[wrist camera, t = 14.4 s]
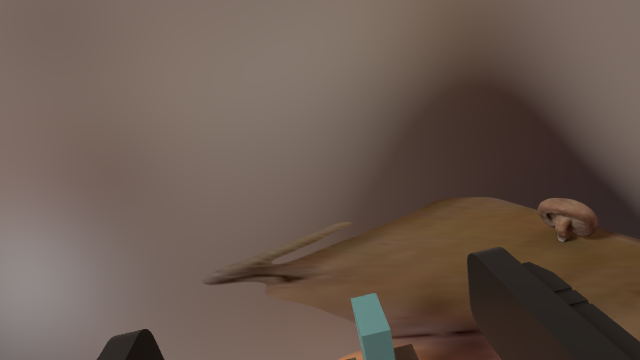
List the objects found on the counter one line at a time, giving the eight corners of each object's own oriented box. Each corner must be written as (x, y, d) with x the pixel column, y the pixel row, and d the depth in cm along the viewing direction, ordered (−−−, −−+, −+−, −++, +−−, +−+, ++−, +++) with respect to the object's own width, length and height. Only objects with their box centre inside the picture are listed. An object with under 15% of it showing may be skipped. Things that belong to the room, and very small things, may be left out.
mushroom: (529, 236, 60) (529, 193, 57) (561, 226, 61) (563, 183, 58) (568, 259, 53) (570, 211, 50) (603, 247, 54) (607, 199, 51)
